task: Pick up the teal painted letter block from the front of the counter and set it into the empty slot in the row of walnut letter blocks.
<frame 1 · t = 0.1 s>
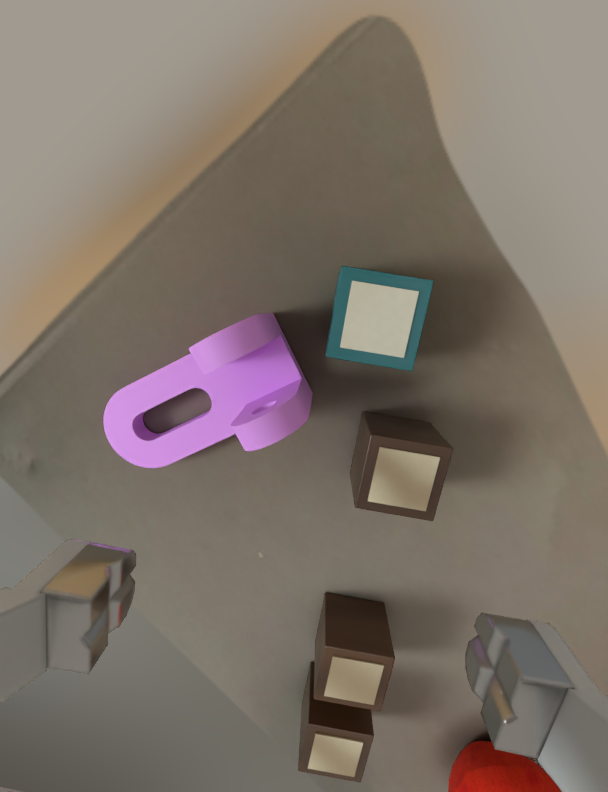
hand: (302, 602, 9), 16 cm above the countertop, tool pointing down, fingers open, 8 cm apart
letter block: (368, 317, 22), on the countertop
apple: (484, 747, 30), on the countertop
block d: (333, 688, 29), on the countertop
block c: (349, 621, 27), on the countertop
bracket: (205, 396, 24), on the countertop
block a: (389, 448, 24), on the countertop
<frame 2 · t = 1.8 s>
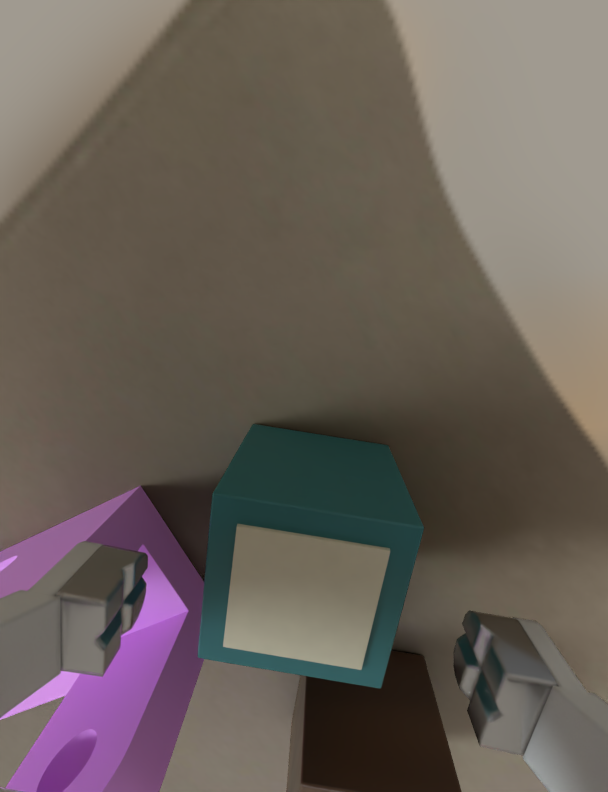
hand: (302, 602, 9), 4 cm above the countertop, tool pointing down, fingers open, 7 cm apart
letter block: (310, 495, 12), on the countertop
bracket: (45, 605, 14), on the countertop, touching gripper
block a: (355, 688, 14), on the countertop
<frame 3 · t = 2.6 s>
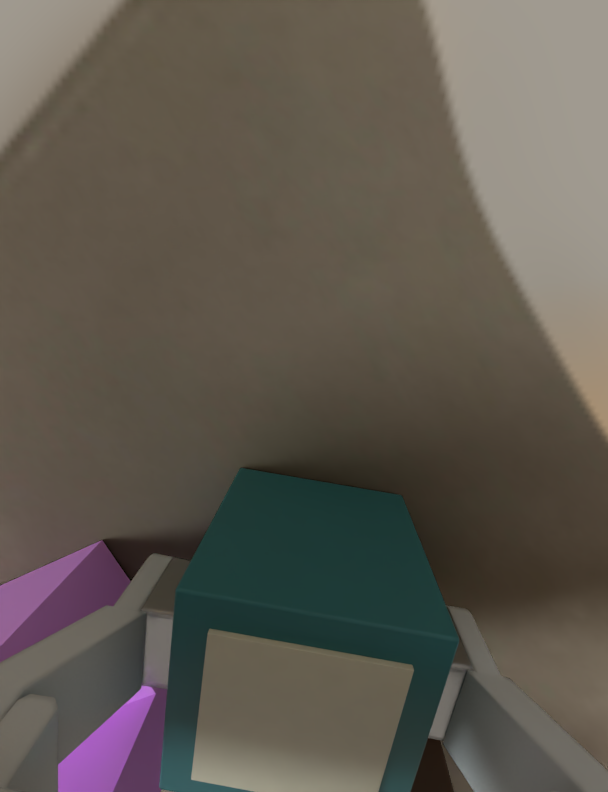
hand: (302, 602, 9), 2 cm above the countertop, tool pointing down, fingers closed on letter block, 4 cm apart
letter block: (307, 550, 10), on the countertop, touching gripper
block a: (358, 771, 12), on the countertop
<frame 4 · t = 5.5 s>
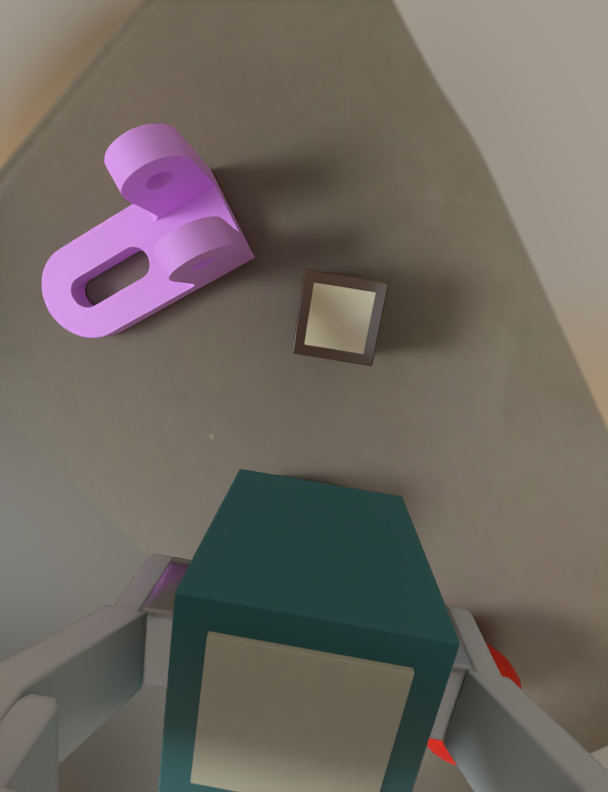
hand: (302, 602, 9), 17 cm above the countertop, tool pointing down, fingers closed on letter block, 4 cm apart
letter block: (307, 552, 10), point 15 cm above the countertop, touching gripper
apple: (442, 641, 30), on the countertop
bracket: (147, 265, 24), on the countertop
block a: (336, 315, 24), on the countertop
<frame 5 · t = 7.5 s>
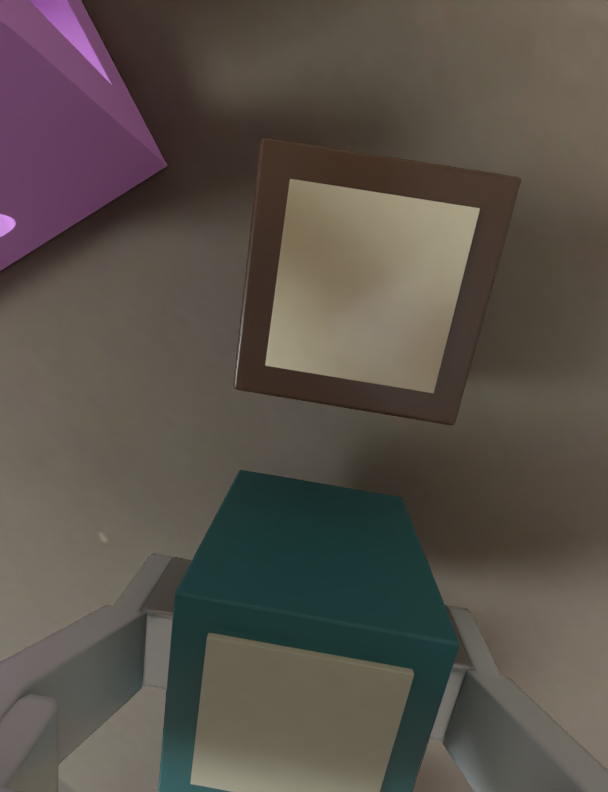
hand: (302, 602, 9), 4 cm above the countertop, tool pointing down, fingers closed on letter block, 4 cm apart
letter block: (307, 553, 10), point 2 cm above the countertop, touching gripper
block a: (349, 297, 11), on the countertop
when the fingers open (2 cm above the countertop, at t = 8.6 s): letter block stays where it is, on the countertop.
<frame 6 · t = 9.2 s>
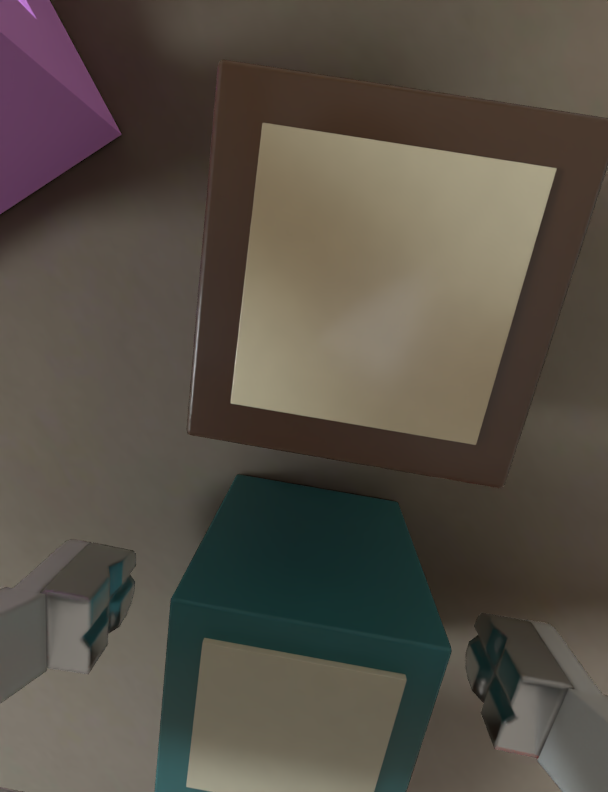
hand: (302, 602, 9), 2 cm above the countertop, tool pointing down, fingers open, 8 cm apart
letter block: (304, 556, 10), on the countertop
block a: (351, 301, 9), on the countertop
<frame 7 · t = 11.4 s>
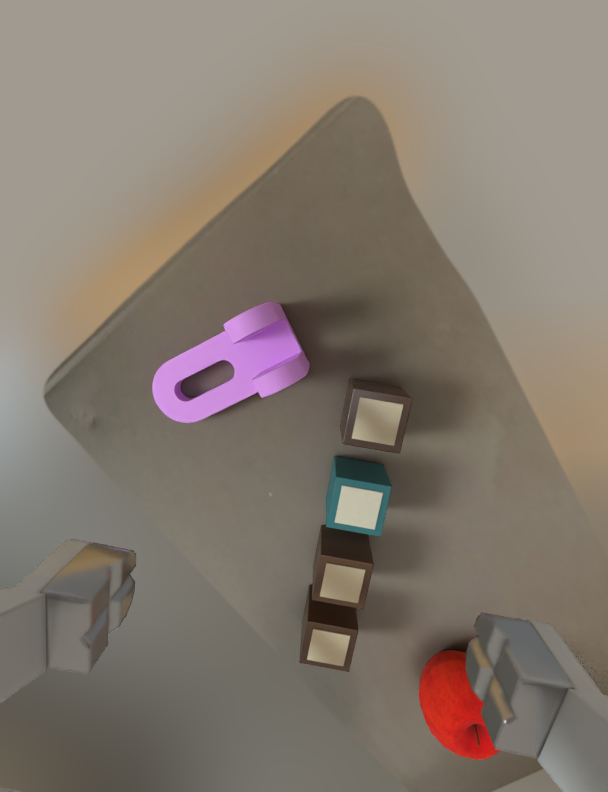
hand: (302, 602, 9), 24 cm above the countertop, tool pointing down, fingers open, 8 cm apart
letter block: (354, 482, 33), on the countertop
apple: (450, 659, 37), on the countertop
block d: (328, 607, 36), on the countertop
block c: (340, 549, 35), on the countertop
bracket: (228, 368, 32), on the countertop
block a: (369, 407, 32), on the countertop
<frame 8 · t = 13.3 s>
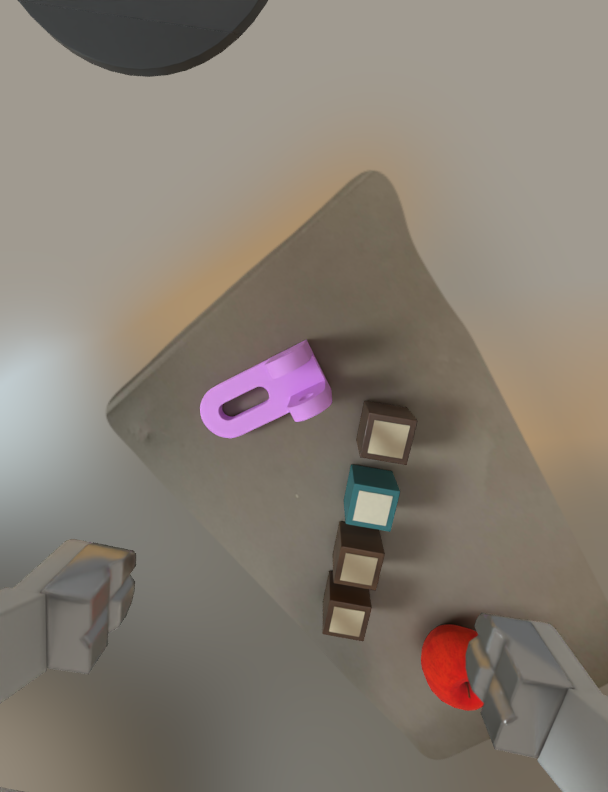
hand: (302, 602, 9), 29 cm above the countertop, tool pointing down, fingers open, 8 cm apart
letter block: (367, 486, 39), on the countertop
apple: (447, 632, 44), on the countertop
block d: (344, 589, 43), on the countertop
block c: (355, 541, 41), on the countertop
bracket: (262, 392, 38), on the countertop
block a: (381, 424, 38), on the countertop
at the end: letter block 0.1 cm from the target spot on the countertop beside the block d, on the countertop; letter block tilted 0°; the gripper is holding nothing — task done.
